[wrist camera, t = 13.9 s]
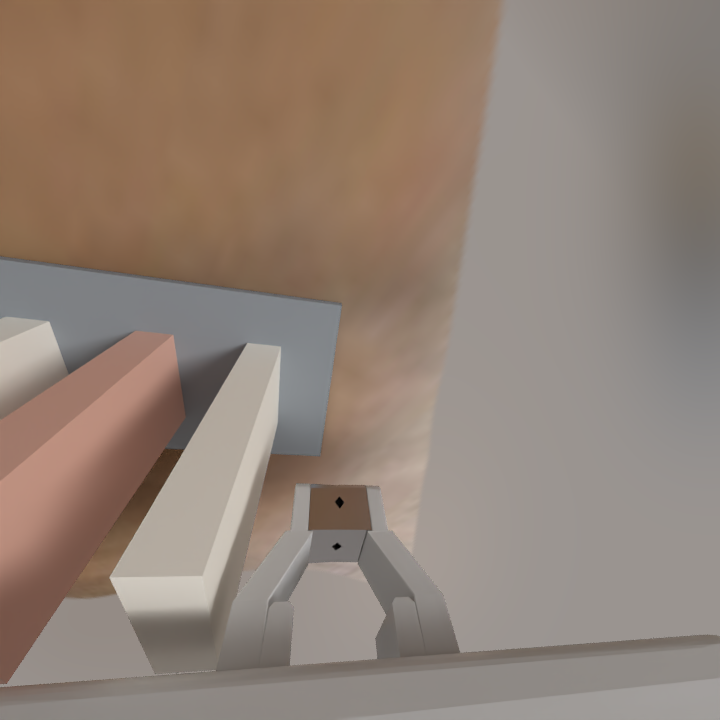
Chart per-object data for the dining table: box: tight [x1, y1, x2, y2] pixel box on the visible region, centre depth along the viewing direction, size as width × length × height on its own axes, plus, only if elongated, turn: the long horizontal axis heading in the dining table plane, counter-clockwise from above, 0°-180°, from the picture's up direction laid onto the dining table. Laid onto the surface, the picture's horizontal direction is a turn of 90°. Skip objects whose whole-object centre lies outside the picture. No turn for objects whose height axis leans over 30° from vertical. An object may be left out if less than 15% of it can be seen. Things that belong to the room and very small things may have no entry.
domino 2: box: [110, 343, 281, 674], centre depth 11 cm, size 2×5×10 cm, turn 170°
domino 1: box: [0, 331, 186, 684], centre depth 10 cm, size 2×5×10 cm, turn 171°
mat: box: [0, 256, 342, 456], centre depth 14 cm, size 27×10×1 cm, turn 80°
